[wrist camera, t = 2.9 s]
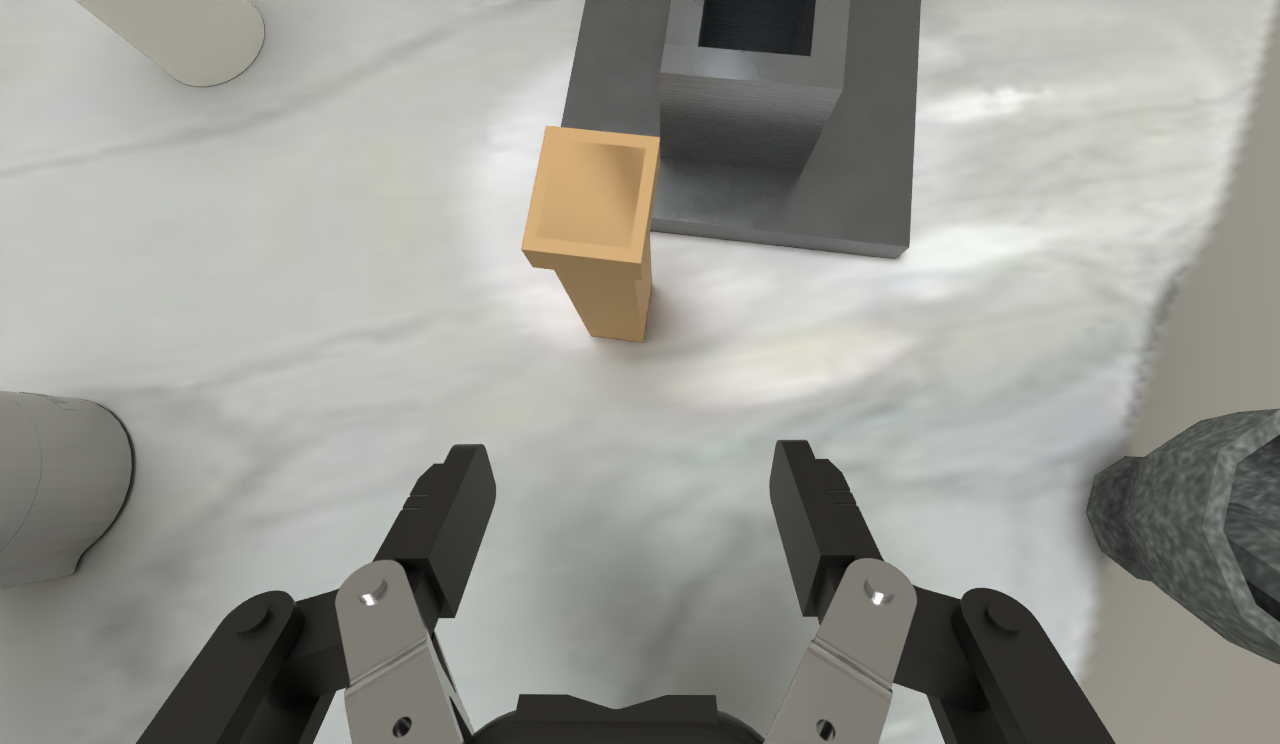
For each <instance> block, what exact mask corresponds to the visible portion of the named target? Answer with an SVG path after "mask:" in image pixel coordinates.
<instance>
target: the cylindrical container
mask: <svg viewBox="0 0 1280 744" xmlns="http://www.w3.org/2000/svg"><path fill="white" fill-rule="evenodd" d="M75 1H76V2H78V3H79V4H80V5H81V6H83V7H84V8H85V9H87V10H88V11H89V12H90V13H92V14H93V15H94V16H95V17H97V18H98V19H99V20H101V21H102V22H103V23H104V24H106V25H107V26H108V27H109V28H111V29H112V30H113V31H115V32H116V33H117V34H118V35H120V36H121V37H122V38H124V39H125V40H126V41H127V42H129V43H130V44H131V45H132V46H134V47H135V48H136V49H138V50H139V51H140V52H141V53H143V54H144V55H145V56H146V57H148V58H149V59H150V60H152V61H153V62H154V63H155V64H157V65H158V66H159V67H161V68H162V69H163V70H164V71H166V72H167V73H168V74H169V75H171V76H172V77H173V78H175V79H176V80H177V81H180V82H182V83H184V84H187V85H191V86H203V87H206V86H212V85H217V84H220V83H223V82H226V81H228V80H230V79H232V78H234V77H236V76H237V75H239V74H240V73H242V72H243V71H244V70H245V69H246V68H247V67H248V66H249V65H250V64H251V63H252V62H253V61H254V59H255V58H256V57H257V55H258V53H259V51H260V49H261V47H262V44H263V40H264V23H263V19H262V17H261V15H260V13H259V11H258V10H257V9H256V8H255V7H254V6H253V5H252V3H251V2H250V1H249V0H75Z"/></svg>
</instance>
